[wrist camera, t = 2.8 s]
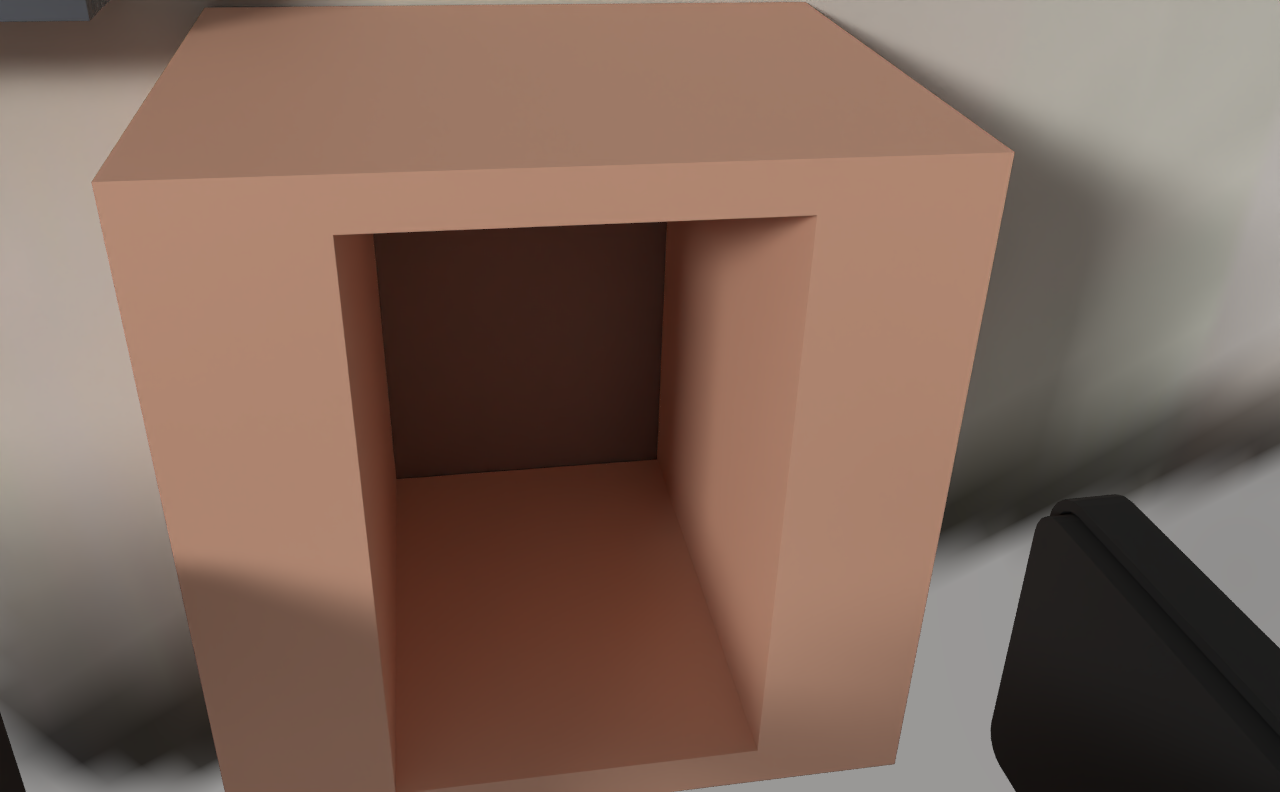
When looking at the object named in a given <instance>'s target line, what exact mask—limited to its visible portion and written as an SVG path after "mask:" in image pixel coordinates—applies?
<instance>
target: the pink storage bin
mask: <svg viewBox="0 0 1280 792" xmlns="http://www.w3.org/2000/svg"><path fill="white" fill-rule="evenodd" d="M1014 153H1015V152H1014V151H1012V150H1011V149H1010V148H1008V147H1007V146H1005V145H1004V144H1003V143H1001V142H1000V141H998V140H997V139H996V138H994V137H993V136H991V135H990V134H989V133H987V132H986V131H984V130H983V129H982V128H980V127H979V126H977V125H976V124H975V123H973V122H972V121H971V120H969V119H968V118H966V117H965V116H964V115H962V114H961V113H959V112H958V111H957V110H955V109H954V108H952V107H951V106H950V105H948V104H947V103H945V102H944V101H943V100H941V99H940V98H938V97H937V96H936V95H934V94H933V93H931V92H930V91H929V90H927V89H926V88H924V87H923V86H922V85H920V84H919V83H917V82H916V81H915V80H913V79H912V78H911V77H909V76H908V75H906V74H905V73H904V72H902V71H901V70H899V69H898V68H897V67H895V66H894V65H892V64H891V63H890V62H888V61H887V60H885V59H884V58H883V57H881V56H880V55H878V54H877V53H876V52H874V51H873V50H871V49H870V48H869V47H867V46H866V45H864V44H863V43H862V42H860V41H859V40H858V39H856V38H855V37H853V36H852V35H851V34H849V33H848V32H846V31H845V30H844V29H842V28H841V27H839V26H838V25H837V24H835V23H834V22H832V21H831V20H830V19H828V18H827V17H825V16H824V15H823V14H821V13H820V12H818V11H817V10H816V9H814V8H813V7H811V6H810V5H809V4H807V3H806V2H766V3H654V4H542V5H431V6H319V7H208V8H204V10H203V11H202V13H201V14H200V16H199V17H198V19H197V20H196V22H195V23H194V25H193V26H192V28H191V30H190V31H189V33H188V34H187V36H186V37H185V39H184V40H183V42H182V43H181V45H180V47H179V48H178V50H177V51H176V53H175V54H174V56H173V57H172V59H171V60H170V62H169V63H168V65H167V67H166V68H165V70H164V71H163V73H162V74H161V76H160V77H159V79H158V80H157V82H156V83H155V85H154V87H153V88H152V90H151V91H150V93H149V94H148V96H147V97H146V99H145V100H144V102H143V104H142V105H141V107H140V108H139V110H138V111H137V113H136V114H135V116H134V117H133V119H132V120H131V122H130V124H129V125H128V127H127V128H126V130H125V131H124V133H123V134H122V136H121V137H120V139H119V141H118V142H117V144H116V145H115V147H114V148H113V150H112V151H111V153H110V154H109V156H108V157H107V159H106V161H105V162H104V164H103V165H102V167H101V168H100V170H99V171H98V173H97V174H96V176H95V178H94V179H93V181H92V186H93V191H94V196H95V200H96V205H97V209H98V214H99V218H100V223H101V228H102V232H103V237H104V241H105V246H106V250H107V255H108V259H109V264H110V269H111V273H112V278H113V282H114V287H115V291H116V296H117V301H118V305H119V310H120V314H121V319H122V323H123V328H124V333H125V337H126V342H127V346H128V351H129V355H130V360H131V365H132V369H133V374H134V378H135V383H136V387H137V392H138V397H139V401H140V406H141V410H142V415H143V419H144V424H145V429H146V433H147V438H148V442H149V447H150V451H151V456H152V461H153V465H154V470H155V474H156V479H157V483H158V488H159V493H160V497H161V502H162V506H163V511H164V515H165V520H166V525H167V529H168V534H169V538H170V543H171V547H172V552H173V557H174V561H175V566H176V570H177V575H178V579H179V584H180V589H181V593H182V598H183V602H184V607H185V611H186V616H187V621H188V625H189V630H190V634H191V639H192V643H193V648H194V653H195V657H196V662H197V666H198V671H199V675H200V680H201V685H202V689H203V694H204V698H205V703H206V707H207V712H208V716H209V721H210V726H211V730H212V735H213V739H214V744H215V748H216V753H217V758H218V762H219V767H220V771H221V776H222V780H223V785H224V790H225V792H674V791H682V790H689V789H698V788H706V787H714V786H722V785H730V784H737V783H746V782H754V781H763V780H771V779H779V778H786V777H795V776H803V775H811V774H819V773H827V772H834V771H843V770H851V769H859V768H867V767H875V766H883V765H891V764H895V759H896V754H897V749H898V744H899V739H900V734H901V728H902V723H903V718H904V713H905V708H906V703H907V698H908V693H909V688H910V683H911V678H912V673H913V667H914V662H915V657H916V652H917V647H918V641H919V637H920V632H921V626H922V622H923V616H924V611H925V606H926V601H927V596H928V591H929V586H930V581H931V576H932V571H933V566H934V561H935V555H936V550H937V545H938V540H939V535H940V530H941V525H942V520H943V515H944V510H945V505H946V499H947V494H948V489H949V484H950V479H951V474H952V469H953V464H954V459H955V454H956V449H957V443H958V438H959V433H960V428H961V423H962V418H963V413H964V408H965V403H966V398H967V393H968V387H969V382H970V377H971V372H972V367H973V362H974V357H975V352H976V347H977V342H978V337H979V331H980V326H981V321H982V316H983V311H984V306H985V301H986V296H987V291H988V286H989V281H990V275H991V270H992V265H993V260H994V255H995V250H996V245H997V240H998V235H999V230H1000V225H1001V219H1002V214H1003V209H1004V204H1005V199H1006V194H1007V189H1008V184H1009V179H1010V174H1011V169H1012V163H1013V158H1014ZM665 221H667V235H666V259H665V282H664V306H663V329H662V353H661V376H660V400H659V423H658V447H657V460H644V461H630V462H617V463H604V464H591V465H577V466H564V467H551V468H538V469H524V470H511V471H498V472H485V473H471V474H458V475H445V476H432V477H418V478H405V479H396V471H395V460H394V449H393V439H392V428H391V417H390V407H389V396H388V385H387V374H386V364H385V353H384V342H383V332H382V321H381V310H380V300H379V289H378V278H377V267H376V257H375V246H374V235H373V233H396V232H420V231H445V230H469V229H494V228H518V227H543V226H567V225H592V224H616V223H641V222H665Z"/></svg>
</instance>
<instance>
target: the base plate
mask: <svg viewBox="0 0 1280 792" xmlns="http://www.w3.org/2000/svg"><path fill="white" fill-rule="evenodd" d="M109 1H110V0H0V22H11V21H90V20H91V19H92V18H93V17H94V16H95V15H96V14H97V13H98V12H99V11H100V10H101V9H102V8H103V7H104V6H105V5H106V4H107V3H108V2H109Z"/></svg>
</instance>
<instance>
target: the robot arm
mask: <svg viewBox="0 0 1280 792" xmlns="http://www.w3.org/2000/svg"><path fill="white" fill-rule="evenodd" d="M991 741H992V746H993V750H994V753H995V756H996V759H997V761H998V763H999V765H1000V767H1001V768H1002V770H1003V771H1004V773H1005V775H1006V776H1007V778H1008V779H1009V781H1010V783H1011V785H1012V786H1013V788H1014V789H1015V791H1016V792H1280V648H1279V647H1278V646H1277V645H1276V644H1275V643H1274V642H1273V641H1272V640H1271V639H1270V638H1269V637H1267V635H1265V633H1263V632H1262V631H1261V630H1260V629H1259V628H1258V627H1257V626H1256V625H1255V624H1254V623H1253V622H1252V621H1251V620H1250V619H1249V618H1248V617H1247V616H1246V615H1245V614H1244V613H1243V612H1242V611H1241V610H1240V609H1239V608H1238V607H1237V606H1236V605H1235V604H1234V603H1233V602H1232V601H1231V600H1230V599H1229V598H1228V597H1227V596H1226V595H1225V594H1224V593H1223V592H1222V591H1221V590H1220V589H1219V588H1218V587H1217V586H1216V585H1215V584H1214V583H1213V582H1212V581H1211V580H1210V579H1209V578H1208V577H1207V576H1206V575H1205V574H1204V573H1203V572H1202V571H1201V570H1200V569H1199V568H1198V567H1197V566H1196V565H1195V564H1194V563H1193V562H1192V561H1191V560H1190V559H1189V558H1188V557H1187V556H1186V555H1185V554H1184V553H1183V552H1182V551H1181V550H1180V549H1179V548H1178V547H1177V546H1176V545H1175V544H1174V543H1173V542H1172V541H1171V540H1170V539H1169V538H1168V537H1167V536H1165V534H1164V533H1163V532H1162V531H1161V530H1160V529H1159V528H1158V527H1157V526H1156V525H1155V524H1154V523H1153V522H1152V521H1151V520H1150V519H1149V518H1148V517H1147V516H1146V515H1145V514H1144V513H1143V512H1142V511H1141V510H1140V509H1139V508H1138V507H1136V506H1135V505H1134V504H1133V503H1132V502H1131V501H1130V500H1129V499H1127V498H1126V497H1124V496H1121V495H1116V494H1114V495H1104V496H1094V497H1084V498H1074V499H1065V500H1062V501H1060V502H1058V503H1057V504H1056V505H1055V506H1054V508H1053V509H1052V511H1051V514H1050V516H1047V517H1044V518H1042V519H1041V520H1040V521H1039V522H1038V524H1037V526H1036V529H1035V533H1034V537H1033V542H1032V546H1031V550H1030V555H1029V559H1028V564H1027V568H1026V572H1025V577H1024V581H1023V586H1022V590H1021V594H1020V599H1019V603H1018V608H1017V612H1016V617H1015V621H1014V625H1013V630H1012V634H1011V639H1010V643H1009V647H1008V652H1007V656H1006V661H1005V665H1004V670H1003V674H1002V678H1001V683H1000V687H999V692H998V696H997V701H996V705H995V710H994V714H993V718H992V723H991ZM0 792H26V791H25V788H24V785H23V782H22V778H21V775H20V772H19V769H18V766H17V763H16V760H15V757H14V754H13V751H12V747H11V744H10V741H9V738H8V735H7V732H6V729H5V726H4V723H3V720H2V717H1V713H0Z"/></svg>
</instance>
